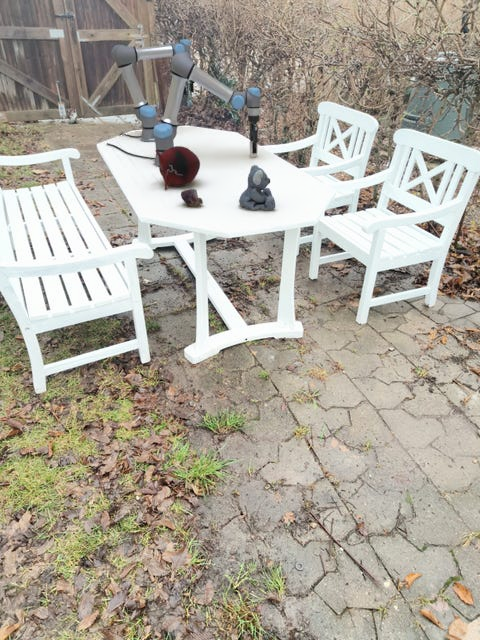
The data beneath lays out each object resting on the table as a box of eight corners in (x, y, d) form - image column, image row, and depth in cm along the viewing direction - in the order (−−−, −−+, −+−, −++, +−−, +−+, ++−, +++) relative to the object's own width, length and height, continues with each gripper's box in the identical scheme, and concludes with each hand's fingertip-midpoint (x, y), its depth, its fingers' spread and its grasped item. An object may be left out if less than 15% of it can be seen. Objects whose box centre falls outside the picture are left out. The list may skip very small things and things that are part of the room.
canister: (250, 156, 302) (250, 143, 297) (249, 154, 306) (249, 141, 301) (258, 156, 303) (258, 142, 298) (256, 154, 307) (256, 140, 302)
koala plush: (276, 211, 223) (277, 171, 212) (240, 212, 222) (240, 172, 211) (271, 199, 237) (272, 161, 226) (237, 200, 236) (237, 162, 225)
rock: (196, 202, 238) (178, 205, 233) (194, 185, 234) (176, 188, 230) (205, 205, 228) (187, 208, 224) (203, 188, 224) (185, 191, 220)
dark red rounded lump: (157, 151, 264) (151, 150, 240) (196, 143, 263) (194, 140, 240) (167, 188, 271) (161, 190, 247) (205, 180, 270) (203, 181, 246)
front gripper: (263, 117, 283) (262, 155, 297) (255, 112, 298) (255, 148, 311) (251, 117, 282) (251, 155, 295) (244, 112, 297) (244, 149, 310)
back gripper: (183, 64, 335) (185, 96, 347) (197, 61, 354) (199, 91, 366) (174, 64, 337) (177, 95, 349) (189, 61, 356) (191, 91, 368)
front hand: (253, 151), depth 303 cm, fingers closed on canister, 5 cm apart
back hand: (188, 93), depth 357 cm, fingers open, 13 cm apart
